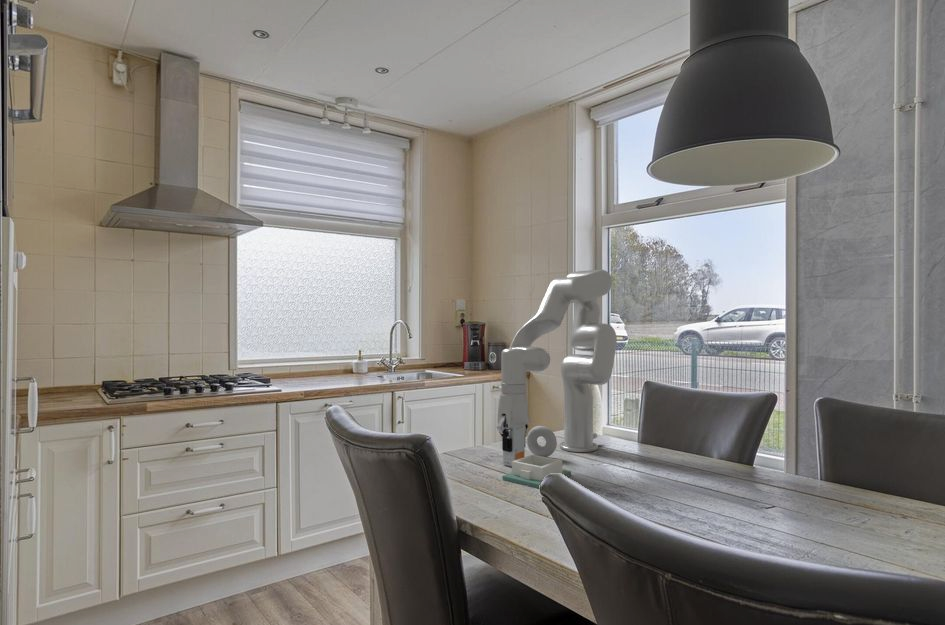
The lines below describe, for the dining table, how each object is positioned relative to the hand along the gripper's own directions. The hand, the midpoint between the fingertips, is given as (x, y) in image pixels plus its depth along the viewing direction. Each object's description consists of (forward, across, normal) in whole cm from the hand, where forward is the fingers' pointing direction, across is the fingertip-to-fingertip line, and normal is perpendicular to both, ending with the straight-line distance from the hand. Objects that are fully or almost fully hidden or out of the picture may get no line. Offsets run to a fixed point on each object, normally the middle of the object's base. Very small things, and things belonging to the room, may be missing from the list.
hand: (514, 448), depth 165 cm
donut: (+5, -12, +2) cm, 13 cm away
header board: (+5, +7, +13) cm, 15 cm away
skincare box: (+5, 0, 0) cm, 5 cm away
